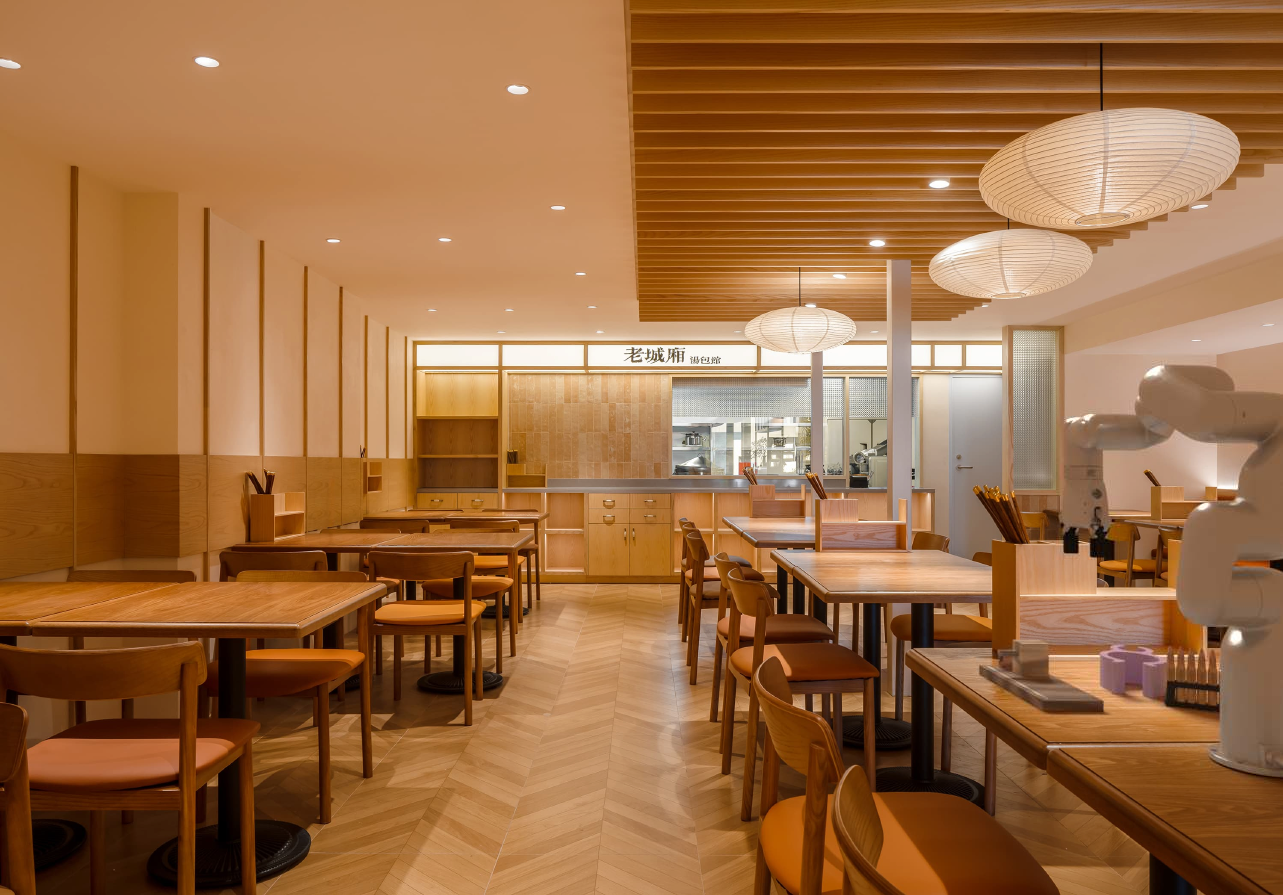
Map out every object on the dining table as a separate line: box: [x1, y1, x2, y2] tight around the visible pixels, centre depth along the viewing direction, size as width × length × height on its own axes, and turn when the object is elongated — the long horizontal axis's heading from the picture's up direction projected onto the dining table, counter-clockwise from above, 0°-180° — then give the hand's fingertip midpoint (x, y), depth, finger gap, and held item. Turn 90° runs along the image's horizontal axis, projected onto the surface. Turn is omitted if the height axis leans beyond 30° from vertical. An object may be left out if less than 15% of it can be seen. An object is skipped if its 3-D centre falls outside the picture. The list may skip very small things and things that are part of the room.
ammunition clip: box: [1164, 645, 1220, 714], centre depth 162 cm, size 11×2×12 cm, turn 65°
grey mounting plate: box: [978, 656, 1105, 712], centre depth 174 cm, size 28×12×5 cm, turn 2°
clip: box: [1099, 644, 1167, 700], centre depth 179 cm, size 20×12×7 cm, turn 151°
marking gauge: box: [997, 639, 1050, 676], centre depth 180 cm, size 4×10×7 cm, turn 92°
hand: (1084, 555), depth 175 cm, fingers open, 9 cm apart
